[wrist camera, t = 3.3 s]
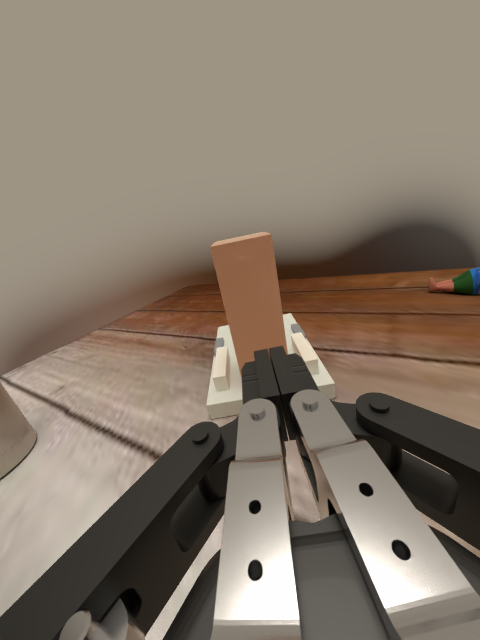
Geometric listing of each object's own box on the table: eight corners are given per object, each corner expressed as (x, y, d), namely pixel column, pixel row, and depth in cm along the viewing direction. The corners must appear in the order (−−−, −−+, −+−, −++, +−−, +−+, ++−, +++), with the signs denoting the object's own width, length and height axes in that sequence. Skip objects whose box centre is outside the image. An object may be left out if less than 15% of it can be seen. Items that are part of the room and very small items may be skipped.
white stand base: (210, 419, 27) (201, 391, 25) (220, 336, 46) (215, 317, 44) (335, 397, 26) (333, 367, 24) (291, 322, 45) (289, 303, 44)
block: (244, 389, 27) (210, 246, 21) (242, 361, 33) (215, 241, 26) (291, 381, 27) (271, 233, 21) (281, 354, 32) (263, 231, 26)
